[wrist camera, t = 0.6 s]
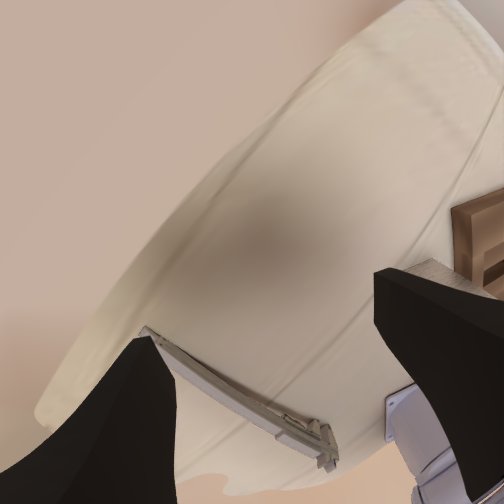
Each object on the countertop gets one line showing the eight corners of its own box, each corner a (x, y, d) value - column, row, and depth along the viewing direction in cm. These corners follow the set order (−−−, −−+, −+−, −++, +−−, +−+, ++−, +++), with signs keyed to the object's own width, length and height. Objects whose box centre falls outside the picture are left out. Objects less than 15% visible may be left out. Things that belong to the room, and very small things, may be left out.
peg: (433, 290, 21) (493, 337, 14) (405, 303, 21) (462, 358, 14) (432, 258, 20) (499, 300, 13) (403, 270, 20) (468, 320, 13)
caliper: (329, 422, 25) (346, 469, 19) (322, 428, 26) (337, 475, 20) (145, 323, 20) (121, 378, 14) (139, 332, 21) (115, 387, 15)
